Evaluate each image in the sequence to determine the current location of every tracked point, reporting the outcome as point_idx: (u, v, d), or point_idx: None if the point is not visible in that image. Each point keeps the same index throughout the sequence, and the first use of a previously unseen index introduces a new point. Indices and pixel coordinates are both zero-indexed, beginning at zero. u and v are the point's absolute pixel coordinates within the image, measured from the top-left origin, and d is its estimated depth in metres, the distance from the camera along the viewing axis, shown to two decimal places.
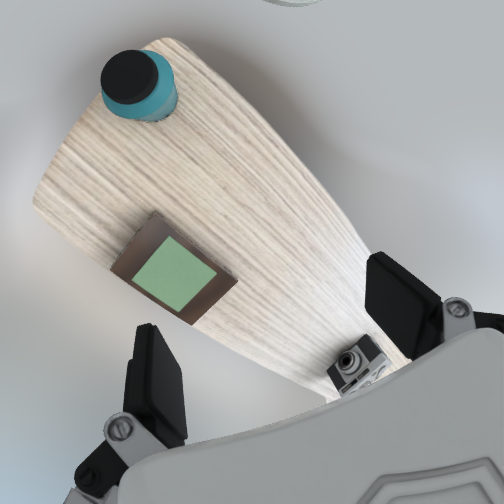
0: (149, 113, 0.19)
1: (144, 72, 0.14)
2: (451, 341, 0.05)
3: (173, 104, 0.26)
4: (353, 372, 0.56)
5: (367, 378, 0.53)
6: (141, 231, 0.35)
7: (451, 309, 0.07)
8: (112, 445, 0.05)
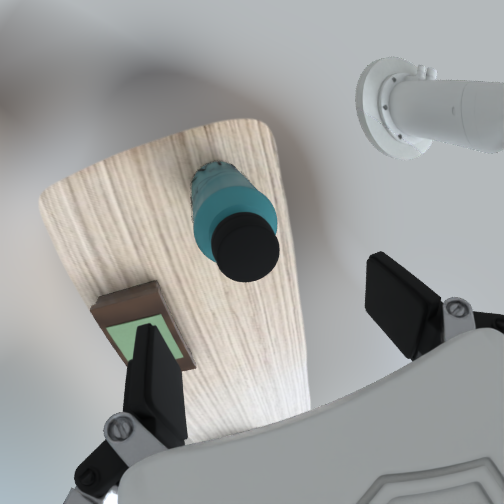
0: None
1: (266, 265, 0.17)
2: (451, 341, 0.05)
3: None
4: None
5: None
6: (138, 298, 0.34)
7: (451, 309, 0.07)
8: (112, 445, 0.05)
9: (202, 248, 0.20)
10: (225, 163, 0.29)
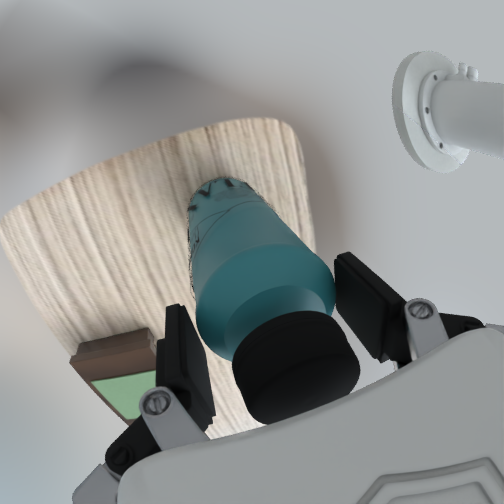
0: None
1: None
2: (451, 341, 0.05)
3: None
4: None
5: None
6: (126, 353, 0.25)
7: (414, 311, 0.08)
8: (149, 419, 0.06)
9: (212, 348, 0.11)
10: (236, 181, 0.21)
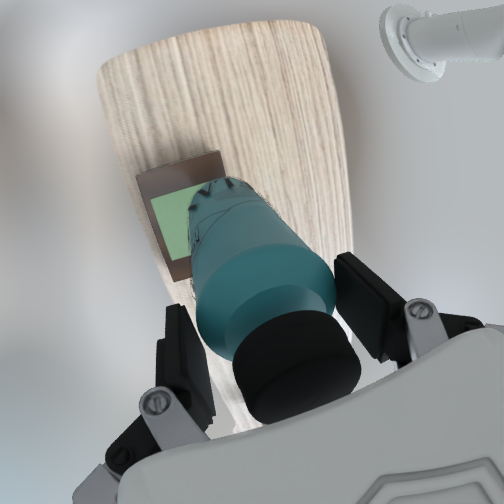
0: None
1: None
2: (451, 341, 0.05)
3: None
4: None
5: None
6: (196, 158, 0.32)
7: (414, 311, 0.08)
8: (149, 419, 0.06)
9: (213, 348, 0.11)
10: (236, 181, 0.21)
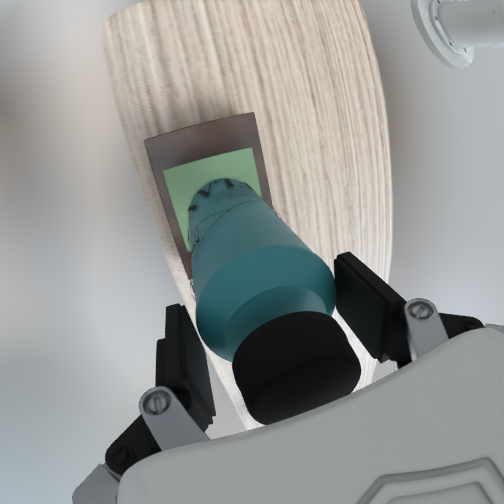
0: None
1: None
2: (451, 341, 0.05)
3: None
4: None
5: None
6: (224, 119, 0.24)
7: (414, 312, 0.08)
8: (149, 419, 0.06)
9: (212, 349, 0.11)
10: (236, 181, 0.21)
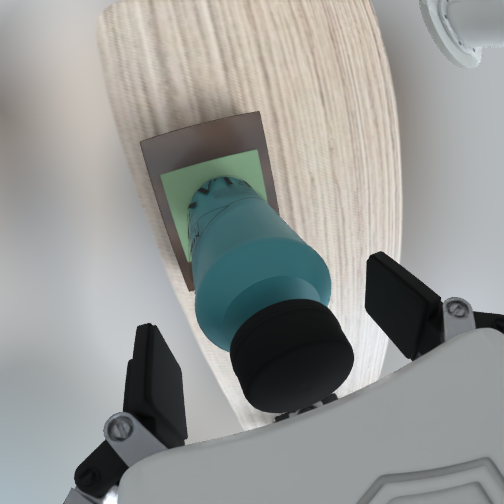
0: None
1: (328, 389, 0.09)
2: (451, 341, 0.05)
3: None
4: None
5: None
6: (227, 119, 0.22)
7: (451, 309, 0.07)
8: (112, 445, 0.05)
9: (211, 339, 0.12)
10: (235, 179, 0.21)
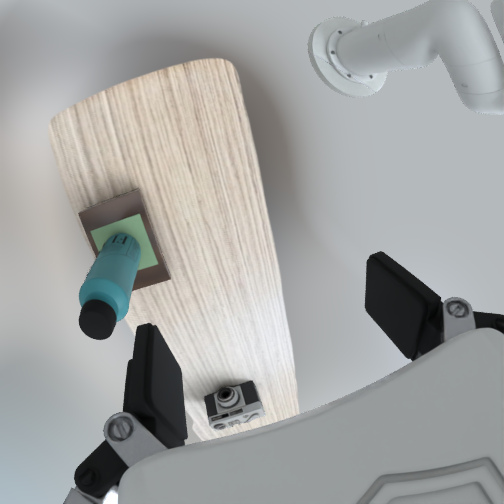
0: None
1: (106, 332, 0.24)
2: (451, 341, 0.05)
3: None
4: (228, 407, 0.60)
5: (238, 417, 0.58)
6: (121, 197, 0.38)
7: (451, 309, 0.07)
8: (112, 445, 0.05)
9: None
10: (122, 236, 0.37)
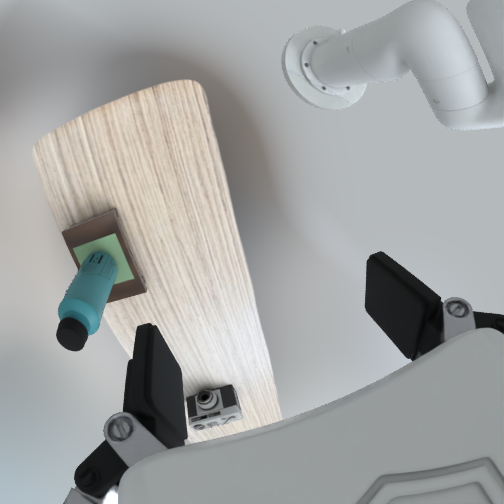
0: None
1: (78, 345, 0.26)
2: (451, 341, 0.05)
3: None
4: (206, 409, 0.62)
5: (216, 419, 0.60)
6: (98, 218, 0.40)
7: (451, 309, 0.07)
8: (112, 445, 0.05)
9: None
10: (98, 255, 0.39)
